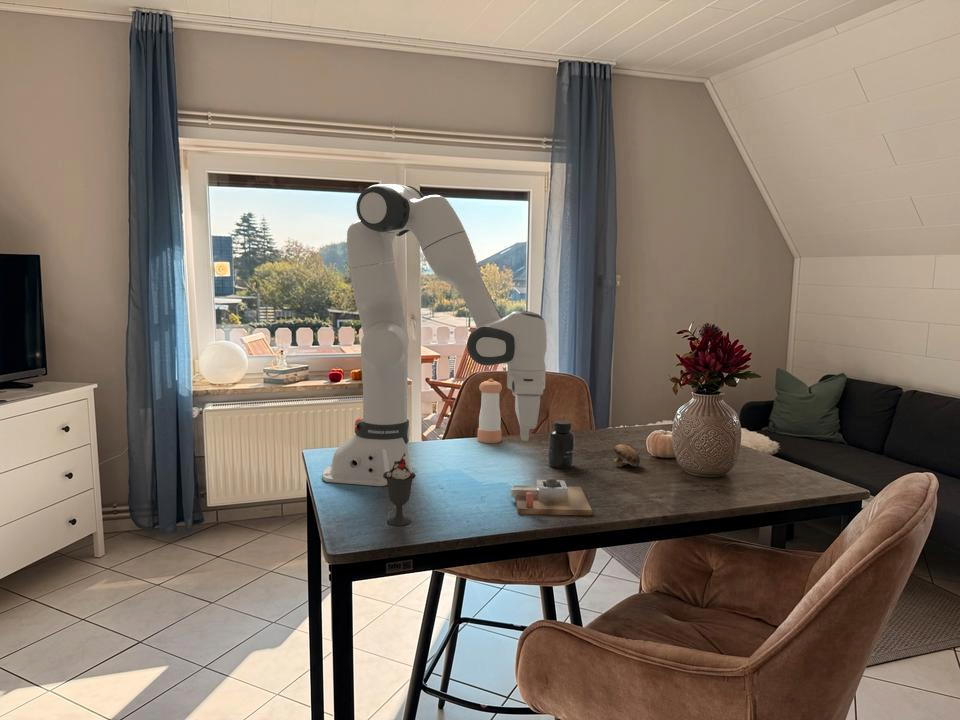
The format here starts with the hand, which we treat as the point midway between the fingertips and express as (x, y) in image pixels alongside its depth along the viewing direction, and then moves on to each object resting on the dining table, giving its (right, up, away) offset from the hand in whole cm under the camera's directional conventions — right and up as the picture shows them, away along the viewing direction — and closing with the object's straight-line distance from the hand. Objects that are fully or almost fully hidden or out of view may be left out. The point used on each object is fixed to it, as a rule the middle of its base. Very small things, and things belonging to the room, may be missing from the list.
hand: (524, 439), depth 164 cm
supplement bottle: (+11, -10, +25) cm, 29 cm away
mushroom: (+29, -11, +26) cm, 41 cm away
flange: (+3, -13, -5) cm, 14 cm away
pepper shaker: (-8, -6, +51) cm, 52 cm away
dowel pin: (0, -13, -11) cm, 18 cm away
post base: (+6, -14, -5) cm, 16 cm away
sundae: (-27, -15, -19) cm, 36 cm away
